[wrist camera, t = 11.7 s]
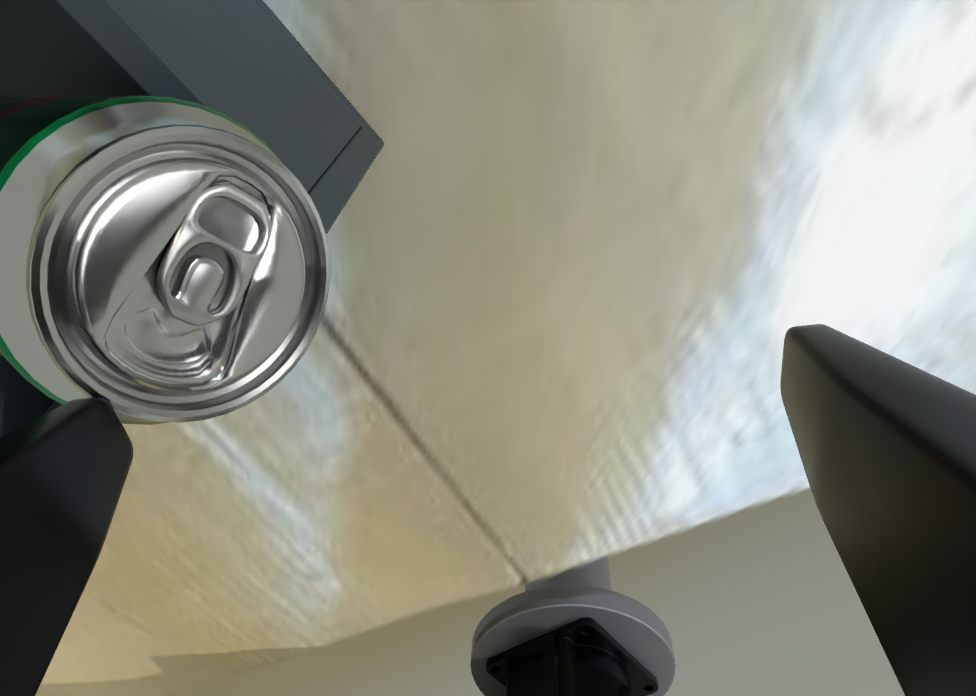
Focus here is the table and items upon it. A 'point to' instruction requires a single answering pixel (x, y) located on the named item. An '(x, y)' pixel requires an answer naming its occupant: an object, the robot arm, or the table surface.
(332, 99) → the bin
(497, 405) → the table surface
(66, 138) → the soda can
